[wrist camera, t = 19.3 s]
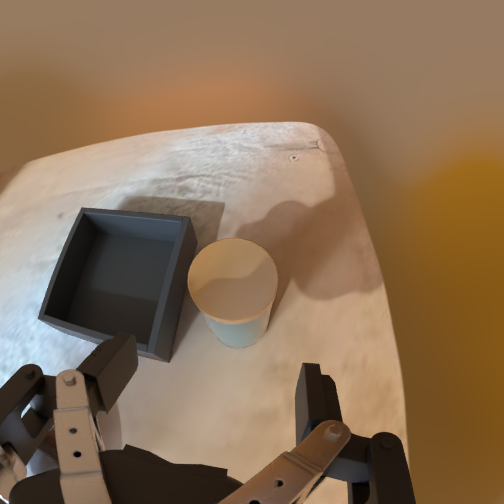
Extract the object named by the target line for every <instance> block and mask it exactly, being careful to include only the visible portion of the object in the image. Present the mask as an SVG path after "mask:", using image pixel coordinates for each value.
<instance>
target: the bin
mask: <svg viewBox="0 0 504 504" xmlns="http://www.w3.org/2000/svg"><path fill="white" fill-rule="evenodd" d="M196 246H197V239H196V236H195V232H194V229H193V225H192V222H191V218H190V217H185V216H184V217H183V216H175V215H164V214H154V213H143V212H132V211H120V210H108V209H95V208H83V207H82V208H81V210H80V212H79V214H78V216H77V218H76V220H75V222H74V224H73V227H72V229H71V231H70V233H69V235H68V238H67V240H66V242H65V244H64V247H63V249H62V252H61V254H60V256H59V259H58V261H57V264H56V267H55V269H54V272H53V274H52V277H51V280H50V283H49V285H48V288H47V291H46V294H45V297H44V300H43V303H42V306H41V309H40V313H39V316H38V319H39V320H40V321H42V322H44V323H46V324H48V325H50V326H52V327H53V328H55V329H57V330H59V331H61V332H64V333H66V334H69V335H72V336H75V337H78V338H81V339H84V340H87V341H90V342H93V343H97V344H100V343H101V342H103V341H105V340H107V339H113V337H114V336H115V335H116V334H117V333H118V332H125V333H129V334H133V335H134V336H135V339H136V347H137V355H139V356H143V357H147V358H151V359H155V360H159V361H163V362H168V363H169V362H170V357H171V352H172V347H173V343H174V338H175V333H176V329H177V324H178V320H179V315H180V311H181V307H182V302H183V298H184V294H185V290H186V285H187V281H188V273H189V269H190V266H191V264H192V261H193V257H194V253H195V250H196Z"/></svg>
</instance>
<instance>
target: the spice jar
mask: <svg viewBox="0 0 504 504" xmlns="http://www.w3.org/2000/svg"><path fill="white" fill-rule="evenodd" d="M278 283H279V276H278V270H277V266H276V264H275V262H274V260H273V258H272V257H271V255H270V254H269V253H268V252H267V251H266V250H265V249H264V248H263V247H261V246H260V245H258V244H256V243H254V242H252V241H249V240H246V239H241V238H227V239H222V240H218V241H216V242H213V243H211V244H210V245H208V246H206V247H205V248H204V249H202V250H201V251H200V252H199V253H198V255H197V256H196V257H195V259H194V260H193V262H192V264H191V266H190V269H189V273H188V289H189V292H190V295H191V297H192V299H193V301H194V303H195V305H196V306H197V307H198V309H199V310H200V311H201V313H202V315H203V317H204V319H205V320H206V322H207V324H208V326H209V328H210V330H211V332H212V333H213V335H214V337H215V338H216V339H217V340H218V341H219V342H221V343H222V344H224V345H226V346H229V347H232V348H245V347H248V346H251V345H253V344H255V343H256V342H258V341H259V340H260V339H261V338H262V337H263V335H264V334H265V332H266V329H267V326H268V322H269V317H270V313H271V308H272V303H273V300H274V298H275V296H276V293H277V289H278Z"/></svg>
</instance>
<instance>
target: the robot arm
mask: <svg viewBox="0 0 504 504" xmlns="http://www.w3.org/2000/svg"><path fill="white" fill-rule="evenodd" d="M137 366H138V355H137V347H136V339H135V336H134V335H133V334H129V333H125V332H118V333H117V334H116V335H115V336H114V337H113V339H107V340H105V341H103V342H101V343H100V344H99V345H98V346H97V347H96V348H95V350H93V351H92V353H91V355H89V356H88V357H87V358H86V359H85V360H84V361H83V362H82V363H81V364H80V365H79V367H78V368H77V369H76V370H65V371H63V372H61V373H59V374H58V375H57V377H56V376H49V375H43V372H42V369H41V368H40V367H39V366H38V365H35V364H27V365H24V366H22V367H21V368H20V369H19V370H18V371H17V372H16V373H15V374H14V375H13V376H12V377H11V378H10V379H9V380H8V381H7V382H6V383H5V384H4V385H3V386H2V387H1V388H0V499H2V500H3V501H5V502H6V503H7V504H303V503H304V502H305V500H306V499H307V498H308V497H309V496H310V495H311V494H312V493H313V492H314V491H315V490H316V489H317V488H318V487H319V486H320V484H321V483H322V482H323V481H324V480H325V479H326V478H327V477H330V478H334V479H338V480H342V481H347V486H348V504H416V501H415V497H414V492H413V487H412V482H411V478H410V473H409V469H408V465H407V461H406V457H405V453H404V449H403V445H402V442H401V440H400V439H399V438H398V437H397V436H396V435H394V434H392V433H389V432H380V433H377V434H375V435H374V436H373V437H372V438H366V437H362V436H358V435H355V434H353V433H351V432H350V429H349V428H348V427H347V425H345V424H344V423H343V421H342V415H341V410H340V405H339V400H338V395H337V392H336V391H337V390H336V385H335V382H334V381H333V379H332V378H331V377H330V376H329V375H321V370H320V365H319V364H315V363H303V364H302V367H301V371H300V375H299V379H298V383H297V387H296V393H295V415H296V447H295V448H294V449H293V450H292V451H291V452H287V451H286V452H284V453H282V454H281V455H280V456H278V457H277V458H276V459H275V460H274V461H272V462H271V463H270V464H269V465H268V466H266V467H265V468H264V469H263V470H262V471H260V472H259V473H258V474H257V475H255V476H254V477H253V478H252V479H250V480H249V481H248V482H246V483H245V484H243V483H241V482H240V481H238V480H236V479H234V478H232V477H229V476H227V470H228V469H224V468H218V467H212V466H207V465H202V464H173V463H170V462H168V461H166V460H164V459H162V458H160V457H159V456H157V455H155V454H153V453H151V452H149V451H146V450H143V449H140V448H136V447H133V446H130V445H127V444H126V445H125V447H124V449H123V450H107V451H106V449H105V446H104V443H103V439H102V435H101V432H100V428H99V423H98V419H97V416H96V415H97V413H98V412H99V411H100V412H103V413H106V414H108V412H109V411H110V409H111V408H112V406H113V405H114V403H115V402H116V400H117V399H118V397H119V396H120V394H121V393H122V391H123V390H124V388H125V387H126V385H127V384H128V382H129V381H130V379H131V378H132V376H133V375H134V373H135V372H136V370H137ZM29 403H30V405H31V407H30V408H29V409H28V411H27V412H26V413H25V415H24V416H23V417H22V418H21V414H22V412H23V410H24V409H25V408H26V406H27V405H28V404H29ZM53 424H54V427H55V436H56V445H57V452H58V459H59V465H60V467H59V468H56V469H53V470H50V471H47V472H44V473H40V474H37V475H34V476H31V477H27V478H26V475H27V469H26V465H27V464H28V462H29V460H30V459H31V457H32V456H33V454H34V453H35V451H36V449H37V448H38V446H39V445H40V443H41V442H42V440H43V439H44V437H45V436H46V434H47V433H48V431H49V430H50V428H51V427H52V425H53Z"/></svg>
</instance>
